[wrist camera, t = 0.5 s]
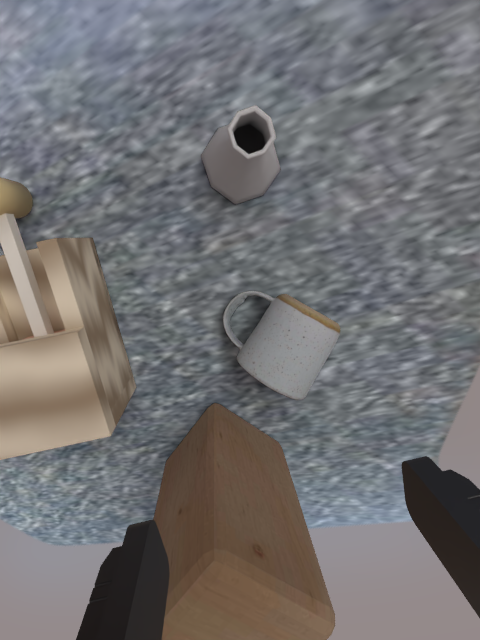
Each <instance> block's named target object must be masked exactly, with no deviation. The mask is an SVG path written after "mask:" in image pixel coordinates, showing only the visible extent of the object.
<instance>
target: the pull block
mask: <svg viewBox="0 0 480 640" xmlns="http://www.w3.org/2000/svg"><path fill="white" fill-rule="evenodd" d="M32 205H33V200H32V196H31V194H30V192H29V190H28V189H27V188H26V187H25V186H24V185H22V184H21V183H18V182H15V181H11V180H8V179H4V178H1V177H0V243H1V246H2V248H3V251H4V254H5V257H6V260H7V262H8V265H9V268H10V271H11V274H12V276H13V279H14V282H15V285H16V288H17V290H18V293H19V296H20V299H21V302H22V304H23V307H24V310H25V313H26V316H27V318H28V321H29V324H30V327H31V330H32V332H33V335H34V336H29V337H26V338H24V339H29V338H34V337H38V336H43V335H48V334H53V333H58V332H63V331H66V330H65V329H63V330H58V331H53V328H52V325H51V322H50V319H49V316H48V313H47V311H46V308H45V305H44V302H43V299H42V296H41V293H40V290H39V287H38V284H37V281H36V278H35V275H34V272H33V270H32V267H31V264H30V261H29V258H28V255H27V252H26V249H25V246H24V243H23V240H22V237H21V234H20V232H19V229H18V226H17V223H16V220H15V218H22V217H25V216H26V215H27V214H28V213H29V212H30V211H31V209H32ZM24 339H22V340H24Z"/></svg>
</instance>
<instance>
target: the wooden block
mask: <svg viewBox="0 0 480 640" xmlns="http://www.w3.org/2000/svg"><path fill="white" fill-rule="evenodd" d="M153 520H154V521H155V522H156V524H157V527H158V530H159V533H160V536H161V539H162V542H163V545H164V548H165V550H166V553H167V557H168V561H169V572H170V576H169V586H168V594H167V602H166V610H165V617H164V625H163V633H162V640H327V639H328V638H329V636H330V635H331V634H332V632H333V629H334V627H335V613H334V610H333V607H332V604H331V601H330V598H329V595H328V591H327V588H326V585H325V582H324V579H323V576H322V573H321V569H320V566H319V563H318V560H317V557H316V554H315V551H314V548H313V544H312V541H311V538H310V535H309V532H308V528H307V525H306V522H305V519H304V516H303V513H302V510H301V506H300V503H299V500H298V497H297V494H296V491H295V488H294V484H293V481H292V478H291V475H290V472H289V469H288V466H287V462H286V459H285V456H284V453H283V450H282V447H281V446H280V444H279V442H277V441H276V440H274V439H272V438H271V437H269V436H268V435H266V434H265V433H263V432H262V431H260V430H259V429H257V428H256V427H254V426H252V425H251V424H249V423H248V422H246V421H245V420H243V419H242V418H240V417H239V416H237V415H236V414H234V413H232V412H231V411H229V410H228V409H226V408H225V407H223V406H222V405H220V404H217V403H214V404H212V405H211V406H209V407H208V408H207V410H206V411H205V412H204V413H203V415H202V416H201V417H200V419H199V420H198V421H197V422H196V424H195V425H194V426H193V428H192V429H191V430H190V431H189V433H188V434H187V435H186V437H185V438H184V439H183V440H182V442H181V443H180V444H179V445H178V447H177V448H176V449H175V451H174V452H173V453H172V454H171V456H170V457H169V458H168V460H167V461H166V464H165V468H164V473H163V478H162V482H161V487H160V492H159V496H158V501H157V505H156V510H155V515H154V519H153Z"/></svg>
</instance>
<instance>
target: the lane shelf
mask: <svg viewBox="0 0 480 640" xmlns="http://www.w3.org/2000/svg"><path fill="white" fill-rule="evenodd" d="M36 243H37V246H38V248H36V249H31V250H27V251H26V252H27V255H28V258H29V261H30V264H31V267H32V270H33V272H34V275H35V278H36V281H37V284H38V287H39V290H40V293H41V296H42V299H43V302H44V305H45V308H46V311H47V313H48V316H49V319H50V322H51V325H52V328H53V331H58V330H63V329H65V330H66V331H63V332H58V333H53V334H48V335H43V336H38V337H34V338H29V339H24V338H26V337H29V336H34V335H33V332H32V330H31V327H30V324H29V321H28V318H27V316H26V313H25V310H24V307H23V304H22V302H21V299H20V296H19V293H18V290H17V288H16V285H15V282H14V279H13V276H12V274H11V271H10V268H9V265H8V262H7V260H6V257H5V255H2V256H0V460H2V459H7V458H11V457H16V456H21V455H25V454H30V453H35V452H39V451H44V450H49V449H53V448H58V447H63V446H67V445H72V444H77V443H81V442H86V441H91V440H95V439H100V438H105V437H109V436H111V435H112V433H113V431H114V429H115V427H116V425H117V423H118V422H119V420H120V418H121V416H122V414H123V412H124V410H125V408H126V406H127V404H128V402H129V400H130V399H131V397H132V395H133V393H134V391H135V389H136V384H135V381H134V377H133V374H132V371H131V367H130V364H129V360H128V357H127V354H126V350H125V347H124V343H123V340H122V337H121V333H120V330H119V326H118V323H117V319H116V316H115V313H114V309H113V306H112V302H111V299H110V296H109V292H108V289H107V285H106V282H105V279H104V275H103V272H102V268H101V265H100V262H99V258H98V255H97V251H96V248H95V244H94V241H93V238H54V239H49V240H44V241H40V242H36ZM22 339H24V340H22Z"/></svg>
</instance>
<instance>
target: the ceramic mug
mask: <svg viewBox="0 0 480 640" xmlns="http://www.w3.org/2000/svg"><path fill="white" fill-rule="evenodd" d="M248 296H259V297H262V298H265V299H267V300H269V301H270V302H271V304H270V306H269V307H268V309H267V310H266V312H265V313H264V315H263V317H262V318H261V320H260V322H259V323H258V325H257V326H256V328H255V329H254V330H253V332H252V333H251V335H250V336H249V338H248V339H247V341H246V342H245V344H242V343H241V342H240V341H239V340H238V339H237V337H236V336H235V334H234V333H233V331H232V329H231V326H230V319H231V316H232V315H233V313H234V312H235V310H236V309H237V308H238V306H239V305H240V304H241V303H244V301H245V298H247V297H248ZM223 324H224V328H225V331H226V334H227V335H228V337H229V338H230V340H231V341H232V342H233V343H234V344H235V345H236V346H237V347H238V348H239V349H240V352H239V354H238V355H237V361H238V362H239V364H240V365H241V366H242V367H243V368H244V369H245V370H246V371H247V372H248V373H249V374H250V375H251V376H253V377H254V378H256V379H257V380H258V381H260V382H261V383H262V384H264V385H265V386H267V387H269V388H271V389H272V390H274V391H276V392H278V393H280V394H282V395H284V396H287V397H289V398H291V399H294V400H302V399H304V398H305V397H306V395H307V393H308V391H309V390H310V388H311V386H312V384H313V383H314V381H315V379H316V377H317V376H318V374H319V372H320V370H321V369H322V367H323V365H324V363H325V362H326V360H327V358H328V356H329V355H330V353H331V351H332V350H333V348H334V346H335V344H336V342H337V339H338V337H339V334H340V326H339V324H338V323H336V322H334V321H332V320H331V319H329V318H327V317H326V316H324V315H322V314H320V313H319V312H317V311H315V310H313V309H311V308H310V307H308V306H306V305H304V304H303V303H301V302H299V301H298V300H296V299H294V298H292V297H291V296H289V295H287V294H282V295H279V296H278V297H277V298H272V297H271V296H269V295H267V294H264V293H261V292H257V291H246V292H243V293H240V294H238V295H237V296H236V297H234V298H233V299H232V300H231V301H230V303H229V304H228V306H227V307H226V309H225V312H224V314H223Z"/></svg>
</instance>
